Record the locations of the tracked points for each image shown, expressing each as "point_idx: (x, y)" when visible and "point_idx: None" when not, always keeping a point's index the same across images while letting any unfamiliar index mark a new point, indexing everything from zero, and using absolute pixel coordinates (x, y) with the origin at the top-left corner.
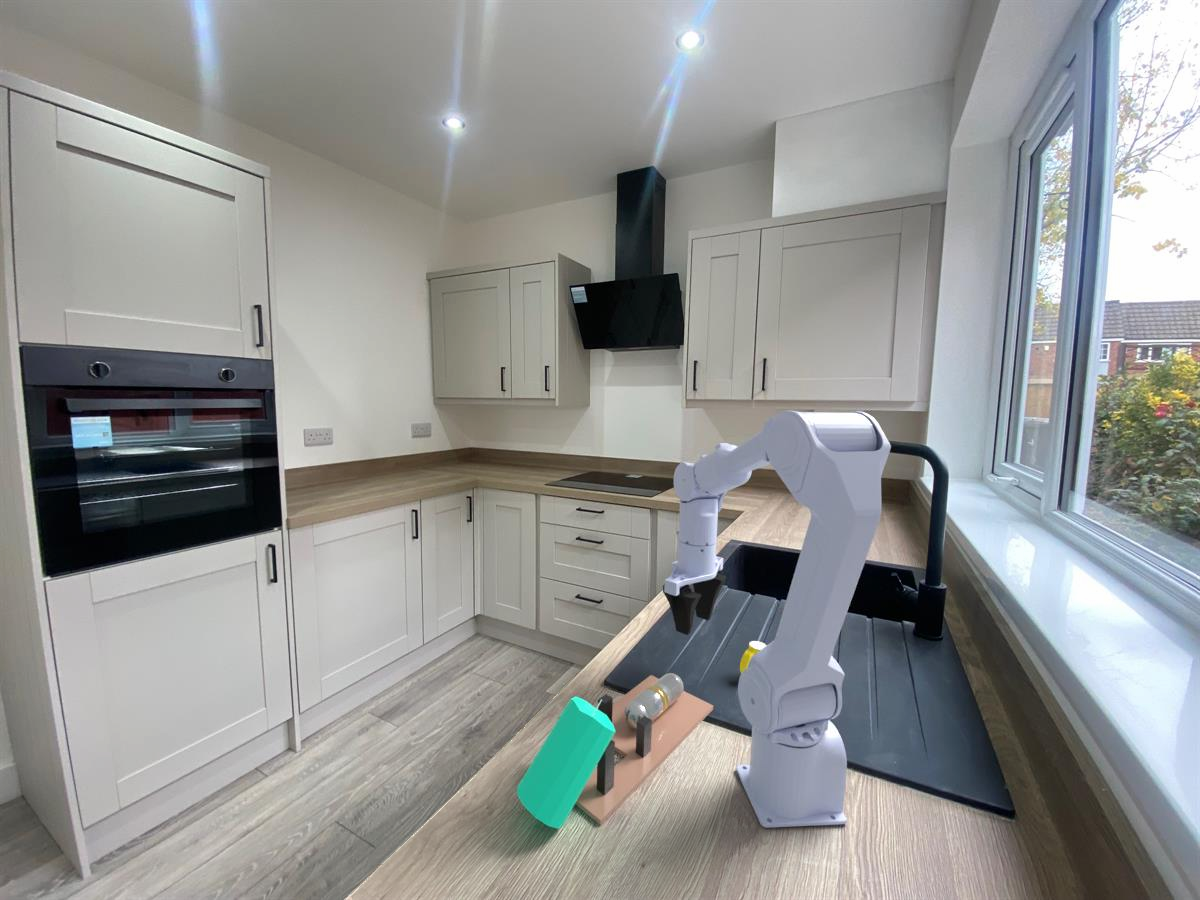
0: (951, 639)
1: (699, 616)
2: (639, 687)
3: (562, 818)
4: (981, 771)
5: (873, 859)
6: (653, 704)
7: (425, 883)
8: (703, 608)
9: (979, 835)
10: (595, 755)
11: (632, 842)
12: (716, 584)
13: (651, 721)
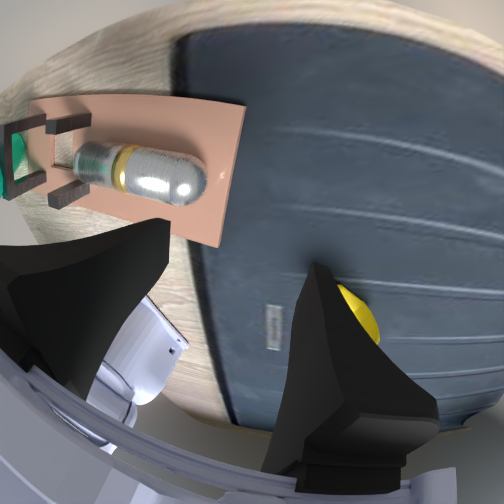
0: (462, 428)
1: (307, 276)
2: (189, 105)
3: None
4: (271, 427)
5: None
6: (98, 185)
7: None
8: (301, 315)
9: (203, 408)
10: None
11: (40, 216)
12: (266, 460)
13: (59, 209)
